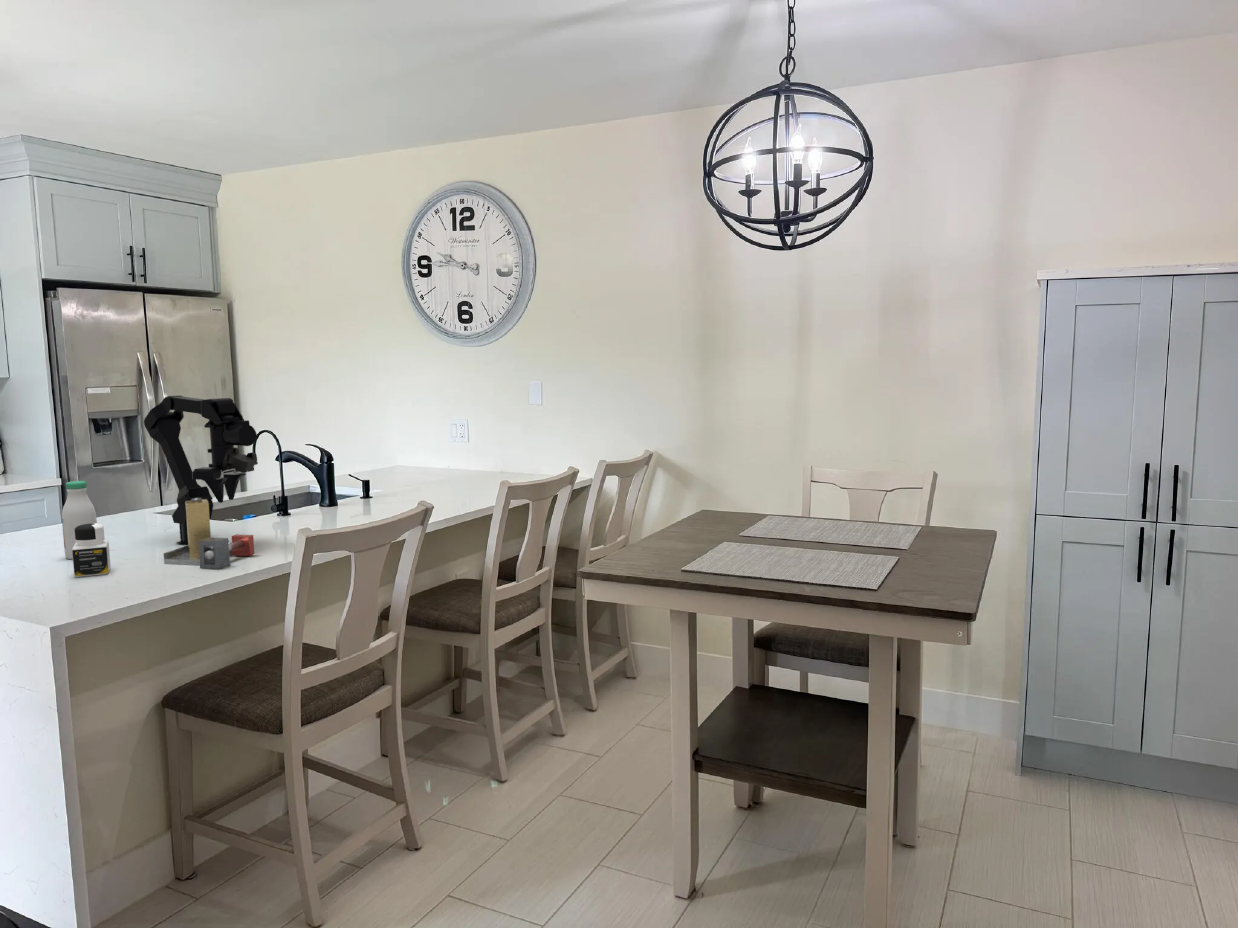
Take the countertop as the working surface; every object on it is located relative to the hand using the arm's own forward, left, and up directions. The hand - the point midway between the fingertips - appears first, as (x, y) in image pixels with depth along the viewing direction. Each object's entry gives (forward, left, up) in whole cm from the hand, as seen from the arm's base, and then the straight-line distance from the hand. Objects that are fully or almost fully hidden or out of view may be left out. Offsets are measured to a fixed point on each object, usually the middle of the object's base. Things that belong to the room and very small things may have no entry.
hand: (226, 501), depth 233 cm
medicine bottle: (-16, -30, -13) cm, 37 cm away
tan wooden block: (+1, -13, -12) cm, 18 cm away
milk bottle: (-32, -16, -13) cm, 38 cm away
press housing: (+10, -19, -13) cm, 25 cm away
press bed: (+1, -13, -13) cm, 18 cm away
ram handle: (+10, -14, -13) cm, 22 cm away
